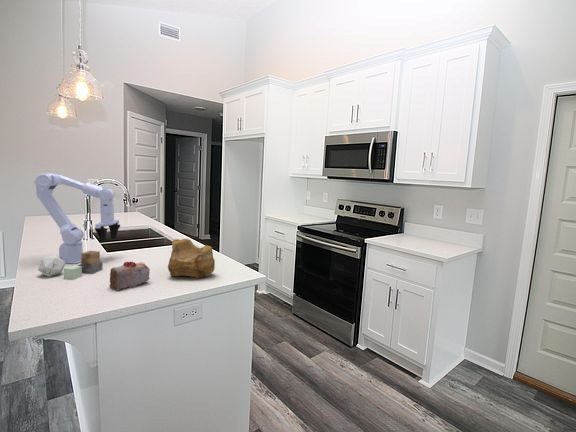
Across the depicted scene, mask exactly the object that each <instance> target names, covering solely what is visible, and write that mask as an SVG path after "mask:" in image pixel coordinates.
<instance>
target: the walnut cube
mask: <svg viewBox="0 0 576 432" xmlns="http://www.w3.org/2000/svg"><path fill="white" fill-rule="evenodd" d="M100 252H101V251H97V250H88V251H83V253H81V262H80V263H81V264H84V265H94V264H97V263H99V262H100V261H101V259H100V258H101V253H100Z"/></svg>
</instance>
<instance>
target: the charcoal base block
mask: <svg viewBox="0 0 576 432" xmlns="http://www.w3.org/2000/svg"><path fill="white" fill-rule="evenodd" d="M78 265H79V266H82V274H89V275H90V274H91V275H94V274H96V273H98V272H101V271H103V261H101V260H100V262H99V263H97V264H94V265H84V264H82V263H80V264H79V263H78Z"/></svg>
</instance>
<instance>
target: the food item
mask: <svg viewBox="0 0 576 432" xmlns="http://www.w3.org/2000/svg"><path fill="white" fill-rule="evenodd" d="M150 273H151V272H150V267H149V266H148V265H147V264H146V263H145V262H143V261H141V262H134V261H124V262H123V265H119V266H115V267H112V268H110V273H109V287H110V289H113V290H114V291H119V290H124V289H127V288H135V287H137V286H138V285H144V284H146V283H147V282H149V280H150Z"/></svg>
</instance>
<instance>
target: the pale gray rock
mask: <svg viewBox="0 0 576 432" xmlns="http://www.w3.org/2000/svg"><path fill="white" fill-rule="evenodd" d="M66 264H67V263H66V262H65V261H63V260H62V259H60V258H59V256H57V255H56V254H54V255H49V256H45V257H42V258H41V261H40V263H39V266H38V268H37V271H39V272H40V273H42V274H44V275H45V276H46V277H47V278H50V277H51V278H52V277H54V276H57V275H61V274H62V273H63V271H64V270H63V268H65V266H66Z"/></svg>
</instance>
